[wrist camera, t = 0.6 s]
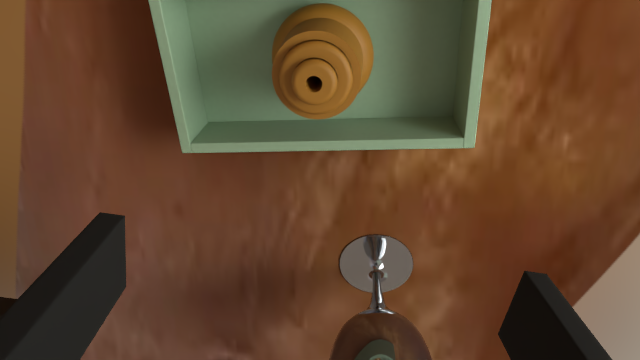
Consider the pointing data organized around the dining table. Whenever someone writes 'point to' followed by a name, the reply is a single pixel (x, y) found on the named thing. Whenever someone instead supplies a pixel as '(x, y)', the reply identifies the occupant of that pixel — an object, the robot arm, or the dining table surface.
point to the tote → (370, 103)
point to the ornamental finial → (321, 60)
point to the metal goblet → (378, 303)
